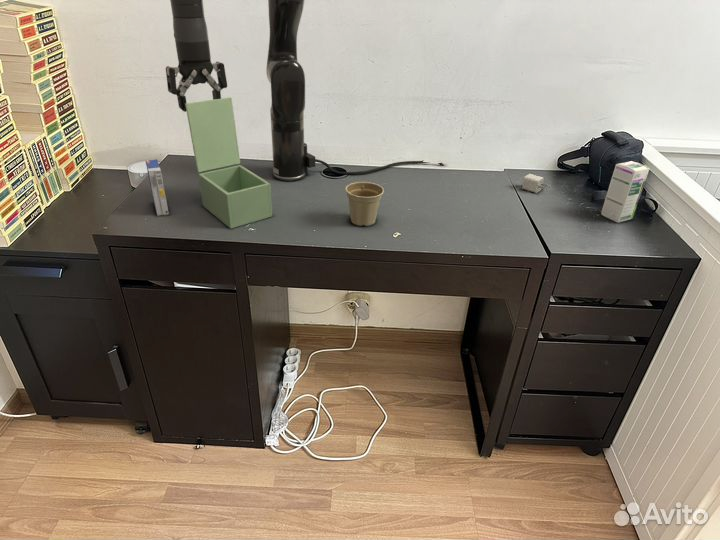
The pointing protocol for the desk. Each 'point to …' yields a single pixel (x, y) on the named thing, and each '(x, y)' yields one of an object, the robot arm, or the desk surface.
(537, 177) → the usb wall charger
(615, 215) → the syrup box
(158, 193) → the walkman
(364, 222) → the flower pot
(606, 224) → the desk surface
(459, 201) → the desk surface
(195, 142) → the lid
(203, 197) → the bin
